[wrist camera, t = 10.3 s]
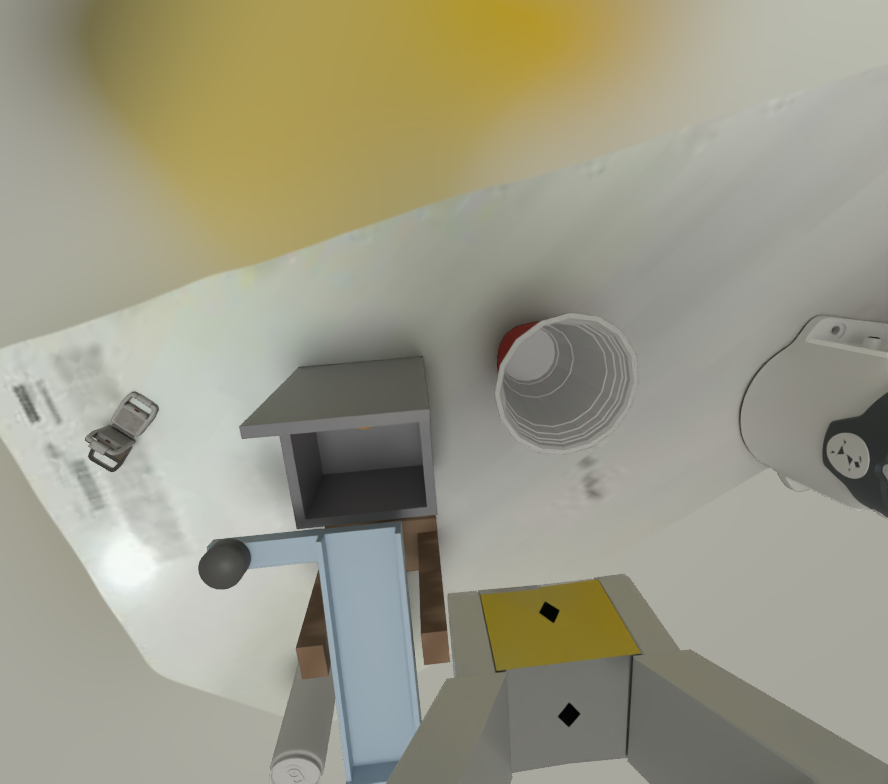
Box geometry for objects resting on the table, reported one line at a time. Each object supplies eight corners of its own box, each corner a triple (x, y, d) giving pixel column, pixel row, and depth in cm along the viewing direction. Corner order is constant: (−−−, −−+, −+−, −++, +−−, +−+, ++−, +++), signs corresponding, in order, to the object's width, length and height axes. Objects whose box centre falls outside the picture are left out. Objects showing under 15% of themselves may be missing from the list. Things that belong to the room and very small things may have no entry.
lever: (401, 500, 38) (399, 529, 33) (424, 722, 41) (425, 784, 35) (228, 517, 38) (195, 551, 32) (263, 742, 40) (238, 809, 35)
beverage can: (330, 642, 53) (308, 750, 41) (347, 673, 54) (331, 786, 42) (291, 656, 53) (258, 768, 41) (309, 687, 54) (282, 803, 43)
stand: (435, 513, 49) (445, 614, 35) (439, 561, 51) (451, 677, 37) (325, 524, 48) (292, 631, 35) (334, 573, 50) (305, 694, 36)
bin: (422, 356, 44) (429, 409, 29) (432, 467, 48) (443, 568, 32) (298, 367, 44) (239, 426, 28) (317, 479, 47) (272, 586, 32)
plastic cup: (529, 429, 47) (567, 485, 36) (449, 361, 45) (463, 397, 33) (606, 349, 45) (673, 380, 34) (528, 273, 43) (572, 279, 31)
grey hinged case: (134, 387, 44) (105, 400, 39) (164, 406, 44) (138, 421, 40) (88, 454, 45) (56, 474, 41) (118, 472, 46) (89, 493, 42)
